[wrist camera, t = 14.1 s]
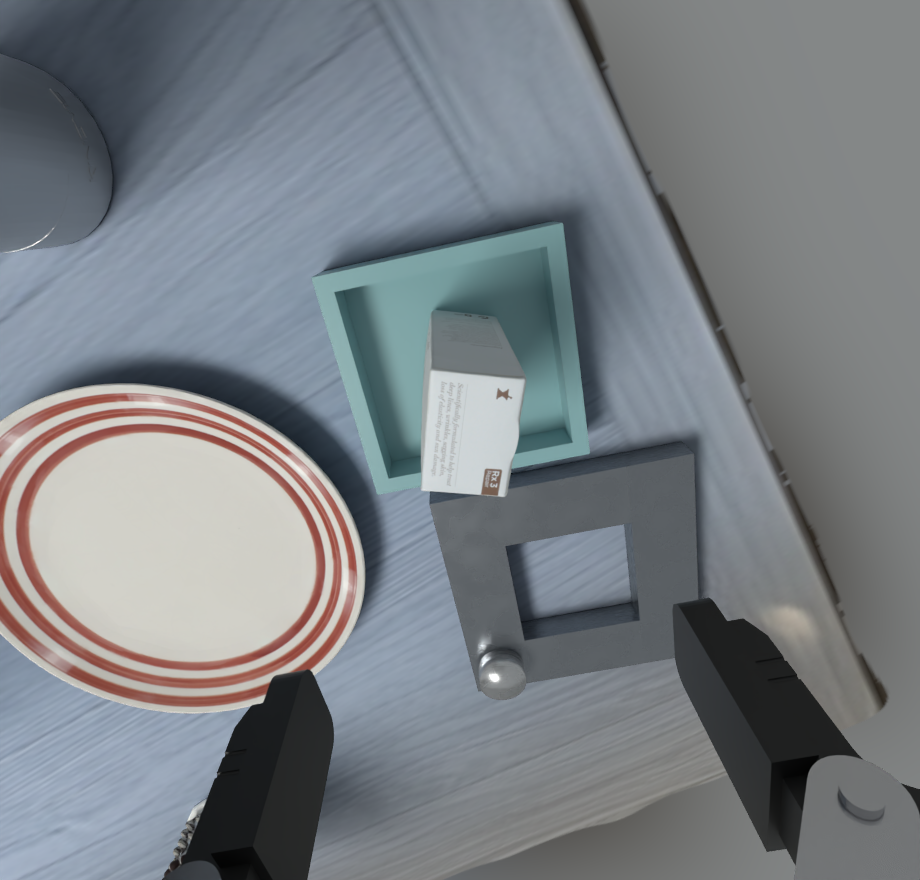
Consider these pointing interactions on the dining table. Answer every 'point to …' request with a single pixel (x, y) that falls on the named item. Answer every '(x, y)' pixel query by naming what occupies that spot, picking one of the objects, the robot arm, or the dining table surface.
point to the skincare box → (469, 405)
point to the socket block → (561, 513)
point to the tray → (466, 291)
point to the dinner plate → (169, 548)
